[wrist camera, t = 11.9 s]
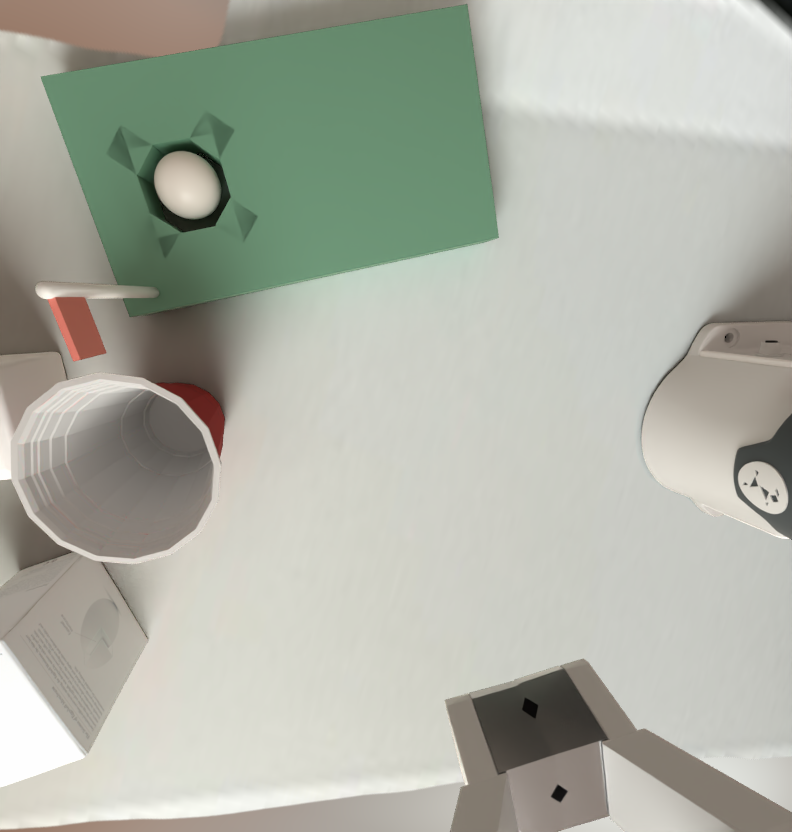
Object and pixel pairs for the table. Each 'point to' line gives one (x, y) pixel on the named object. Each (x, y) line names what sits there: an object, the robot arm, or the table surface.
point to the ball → (187, 185)
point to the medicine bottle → (23, 393)
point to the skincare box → (60, 662)
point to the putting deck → (278, 161)
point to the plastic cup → (119, 465)
